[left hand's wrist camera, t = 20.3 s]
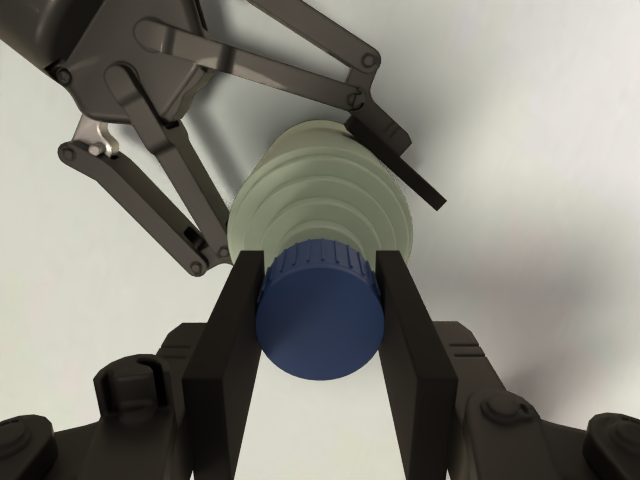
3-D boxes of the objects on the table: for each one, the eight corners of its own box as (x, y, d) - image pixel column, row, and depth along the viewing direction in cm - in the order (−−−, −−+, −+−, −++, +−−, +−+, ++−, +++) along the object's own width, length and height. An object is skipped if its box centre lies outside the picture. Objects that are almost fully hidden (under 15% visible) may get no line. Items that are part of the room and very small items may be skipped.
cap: (378, 336, 15) (388, 378, 13) (269, 343, 15) (261, 386, 13) (375, 232, 14) (385, 261, 12) (256, 240, 14) (245, 270, 12)
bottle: (355, 101, 29) (410, 136, 11) (392, 211, 31) (485, 380, 14) (243, 145, 30) (133, 241, 12) (288, 249, 32) (250, 450, 15)
